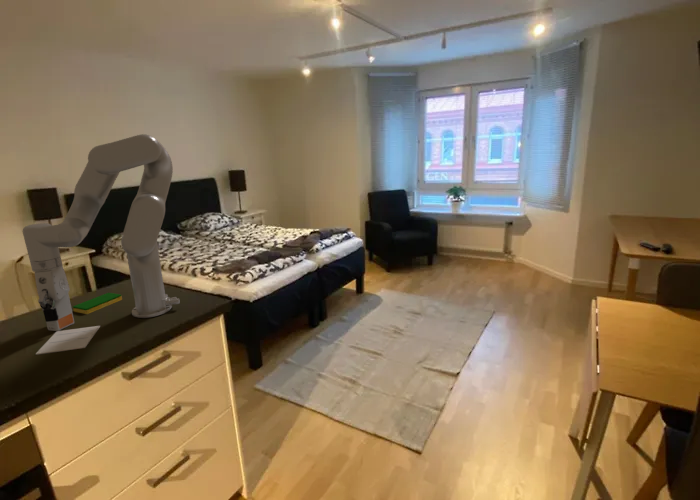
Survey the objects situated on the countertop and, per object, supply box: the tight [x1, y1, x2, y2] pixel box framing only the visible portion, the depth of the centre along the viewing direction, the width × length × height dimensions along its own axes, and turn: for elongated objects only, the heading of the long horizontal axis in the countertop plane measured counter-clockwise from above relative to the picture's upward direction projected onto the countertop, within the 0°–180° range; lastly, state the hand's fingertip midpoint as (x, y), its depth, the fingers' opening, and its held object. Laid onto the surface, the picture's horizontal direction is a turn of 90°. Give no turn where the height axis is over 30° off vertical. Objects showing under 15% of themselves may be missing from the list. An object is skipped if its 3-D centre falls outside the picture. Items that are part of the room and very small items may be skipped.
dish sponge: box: [72, 292, 123, 315], centre depth 139 cm, size 7×14×2 cm, turn 159°
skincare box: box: [45, 290, 75, 332], centre depth 121 cm, size 6×4×12 cm
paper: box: [35, 325, 101, 356], centre depth 114 cm, size 12×14×1 cm
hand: (58, 314), depth 122 cm, fingers open, 9 cm apart
